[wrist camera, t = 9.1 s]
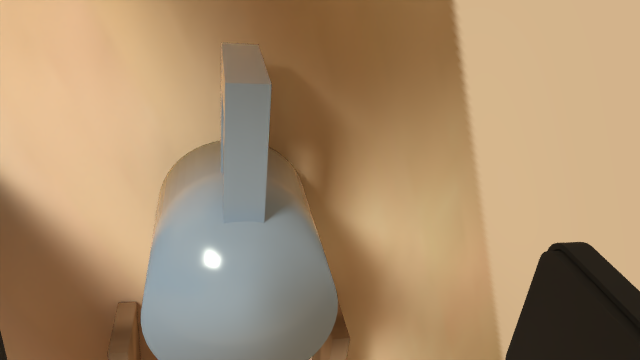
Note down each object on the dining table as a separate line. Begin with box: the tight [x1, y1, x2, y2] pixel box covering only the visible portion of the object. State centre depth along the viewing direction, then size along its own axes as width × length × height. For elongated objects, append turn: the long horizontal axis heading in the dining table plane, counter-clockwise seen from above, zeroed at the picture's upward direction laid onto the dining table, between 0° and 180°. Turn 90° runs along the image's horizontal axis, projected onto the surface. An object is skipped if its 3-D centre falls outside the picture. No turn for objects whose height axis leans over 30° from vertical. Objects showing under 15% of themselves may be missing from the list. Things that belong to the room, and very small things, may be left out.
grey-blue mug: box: [141, 43, 338, 360], centre depth 25 cm, size 14×8×9 cm, turn 175°
